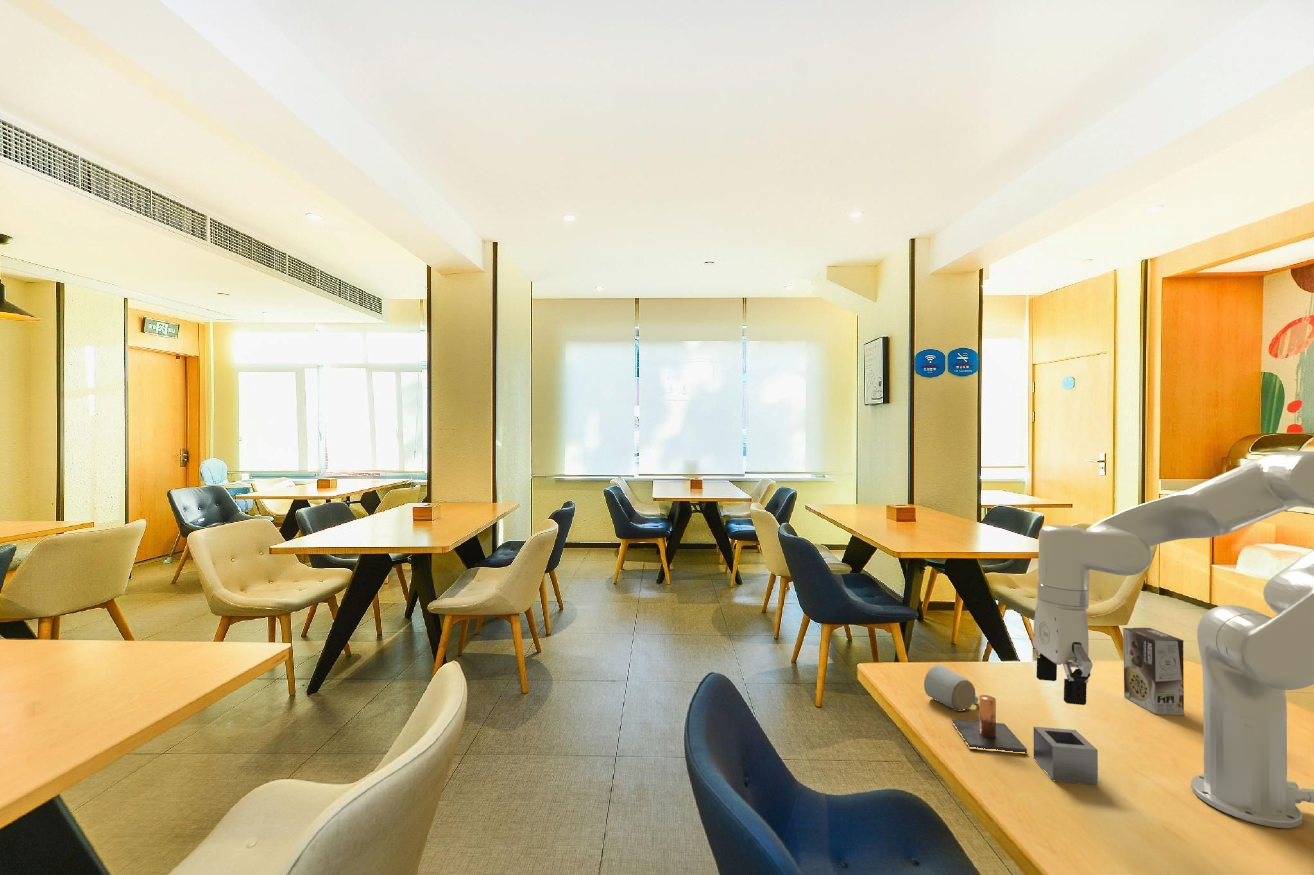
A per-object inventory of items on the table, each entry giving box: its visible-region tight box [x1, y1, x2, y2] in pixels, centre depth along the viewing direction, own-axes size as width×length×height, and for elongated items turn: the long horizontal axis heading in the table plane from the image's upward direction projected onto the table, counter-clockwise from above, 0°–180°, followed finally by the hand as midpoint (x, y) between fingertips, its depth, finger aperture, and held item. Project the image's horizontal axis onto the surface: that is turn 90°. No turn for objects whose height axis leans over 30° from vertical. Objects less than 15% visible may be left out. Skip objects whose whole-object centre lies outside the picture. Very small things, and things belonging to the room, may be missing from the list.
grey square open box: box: [1033, 726, 1099, 786], centre depth 103 cm, size 7×7×6 cm
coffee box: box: [1122, 627, 1185, 716], centre depth 129 cm, size 9×6×16 cm
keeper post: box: [951, 694, 1028, 754], centre depth 114 cm, size 10×10×8 cm
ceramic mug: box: [923, 664, 979, 711], centre depth 129 cm, size 11×8×8 cm
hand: (1059, 691), depth 103 cm, fingers open, 9 cm apart
